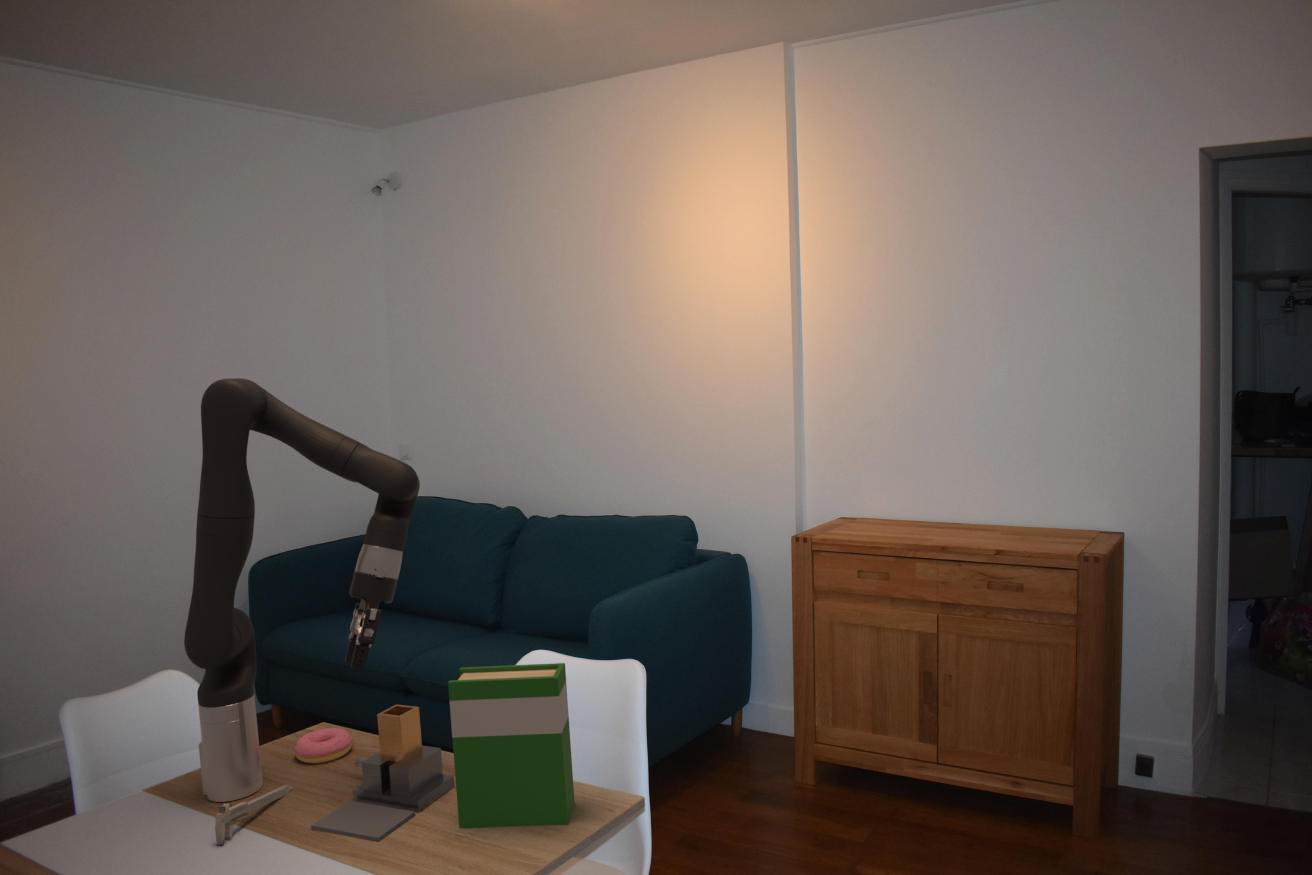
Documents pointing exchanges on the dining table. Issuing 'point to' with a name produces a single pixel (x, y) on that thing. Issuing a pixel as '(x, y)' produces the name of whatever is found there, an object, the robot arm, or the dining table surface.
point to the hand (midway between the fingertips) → (353, 665)
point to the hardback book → (512, 746)
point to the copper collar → (399, 733)
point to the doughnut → (323, 745)
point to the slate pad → (363, 820)
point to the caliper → (242, 813)
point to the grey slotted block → (403, 781)
